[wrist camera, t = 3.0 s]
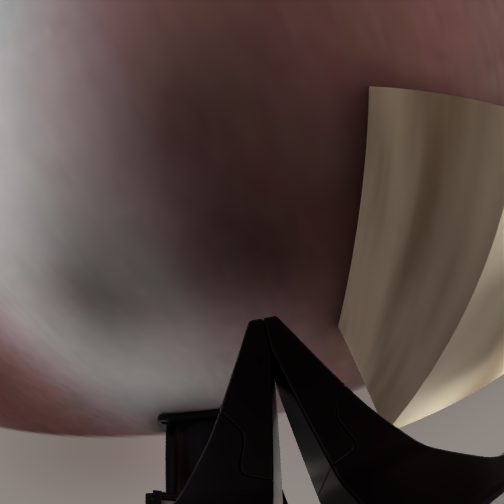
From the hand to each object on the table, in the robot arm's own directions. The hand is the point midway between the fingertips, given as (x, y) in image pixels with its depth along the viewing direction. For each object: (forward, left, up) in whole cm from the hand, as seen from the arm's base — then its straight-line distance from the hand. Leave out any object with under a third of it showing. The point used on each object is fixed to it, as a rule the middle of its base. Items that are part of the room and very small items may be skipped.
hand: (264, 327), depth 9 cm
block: (+10, 0, -4) cm, 11 cm away
